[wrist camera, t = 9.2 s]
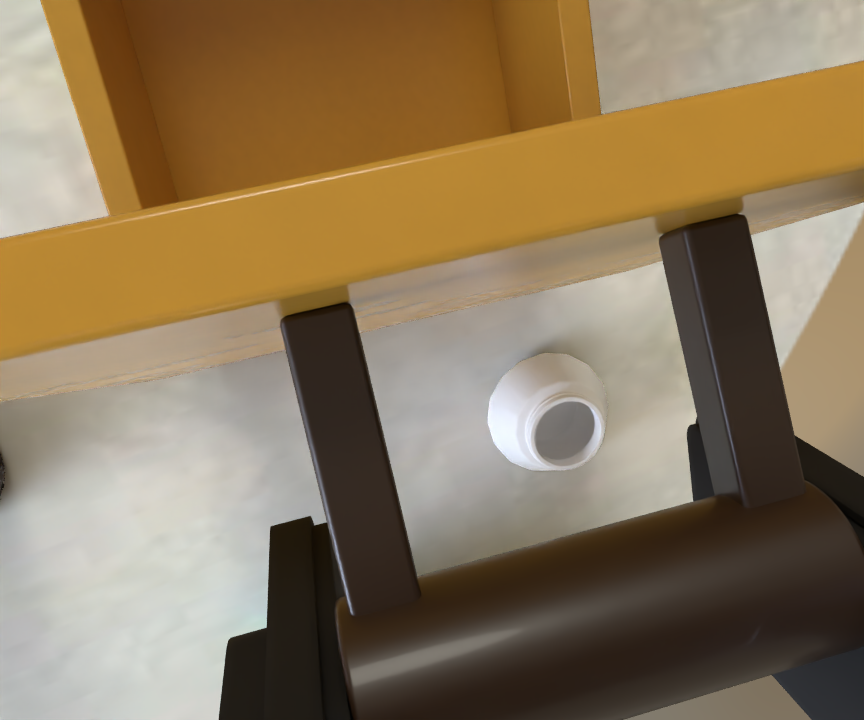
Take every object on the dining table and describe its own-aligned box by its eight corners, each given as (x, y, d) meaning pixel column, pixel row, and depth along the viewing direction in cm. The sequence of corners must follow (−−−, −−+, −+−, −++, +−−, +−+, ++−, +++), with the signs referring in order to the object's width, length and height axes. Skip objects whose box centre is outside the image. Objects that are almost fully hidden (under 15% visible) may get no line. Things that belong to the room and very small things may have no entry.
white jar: (563, 479, 34) (621, 379, 33) (588, 511, 31) (652, 402, 30) (464, 436, 32) (522, 331, 31) (481, 466, 29) (545, 350, 28)
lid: (-521, 341, 5) (-291, 1175, 5) (1362, -45, 6) (1483, 594, 6) (148, 352, 21) (195, 542, 21) (621, 244, 23) (661, 422, 23)
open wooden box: (39, -189, 24) (-64, -321, 17) (473, -251, 25) (544, -397, 18) (186, 304, 29) (155, 361, 22) (541, 226, 30) (618, 255, 23)
